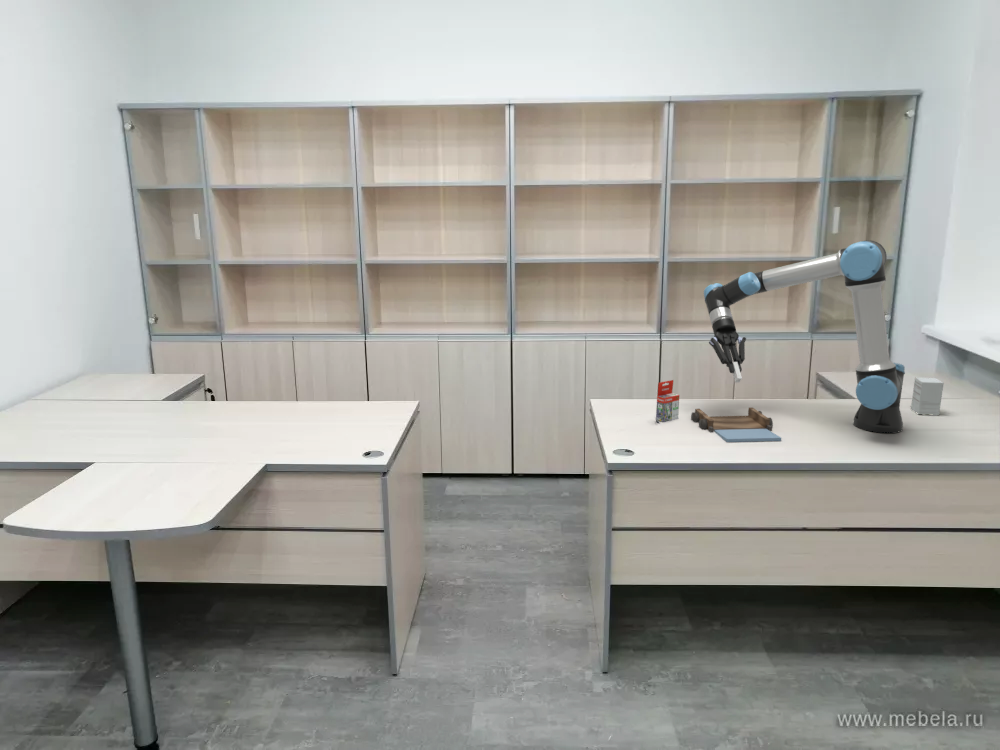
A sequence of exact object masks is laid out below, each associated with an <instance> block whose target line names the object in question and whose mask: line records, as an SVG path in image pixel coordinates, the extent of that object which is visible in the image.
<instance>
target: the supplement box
mask: <svg viewBox="0 0 1000 750" xmlns="http://www.w3.org/2000/svg"><path fill="white" fill-rule="evenodd" d="M944 384H945V383H944V382H943V381H941V380H940V379H938V378H936V377H914V382H913V391H912V398H911V405H910V410H911V409H912V410H914V411H915V412H917V413H918V414H933V415H932V416H937V415H939V416H940V411H941V409H940V408H941V404H942V397H943V396H942V395H943V391H944ZM912 410H911V411H912ZM915 412H914V413H915ZM918 414H917V415H918Z"/></svg>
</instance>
